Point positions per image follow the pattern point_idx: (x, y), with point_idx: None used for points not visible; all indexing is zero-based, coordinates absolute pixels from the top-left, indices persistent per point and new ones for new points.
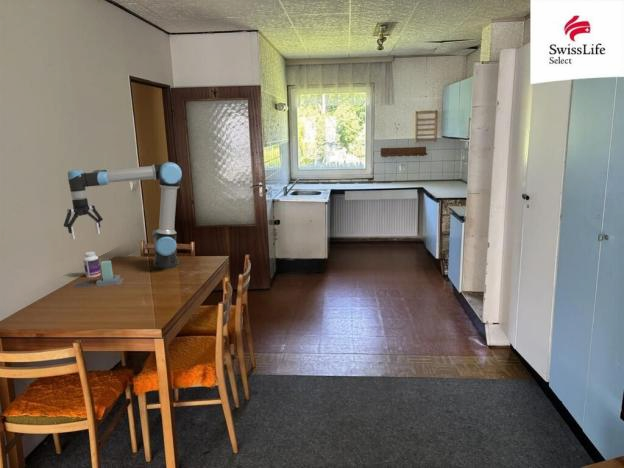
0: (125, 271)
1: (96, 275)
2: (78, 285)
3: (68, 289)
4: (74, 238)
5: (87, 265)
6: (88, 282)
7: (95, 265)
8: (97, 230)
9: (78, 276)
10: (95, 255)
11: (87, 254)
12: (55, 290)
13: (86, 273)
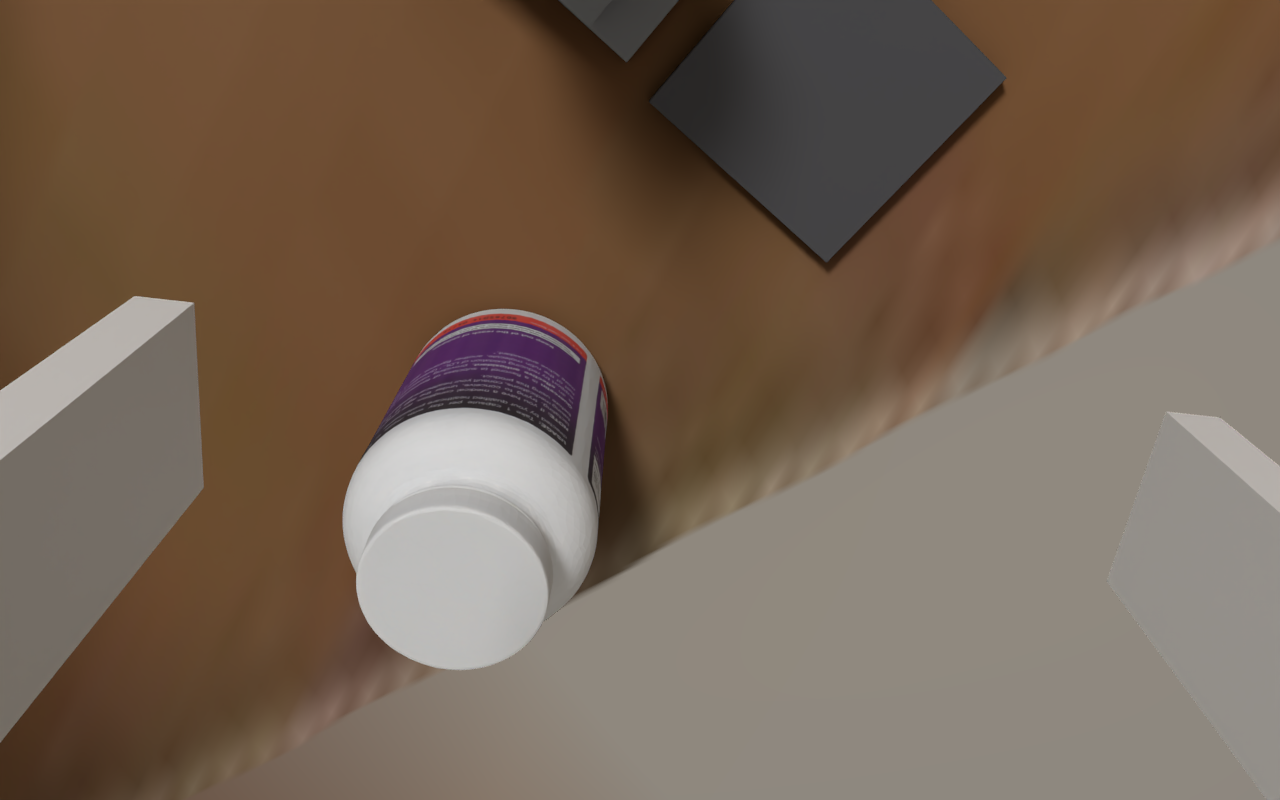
0: (94, 180)
1: (509, 311)
2: (901, 126)
3: (1047, 131)
4: (1190, 425)
5: (585, 435)
6: (742, 126)
7: (477, 368)
8: (127, 424)
9: (629, 568)
10: (367, 537)
11: (530, 540)
12: (1147, 262)
13: (606, 419)
